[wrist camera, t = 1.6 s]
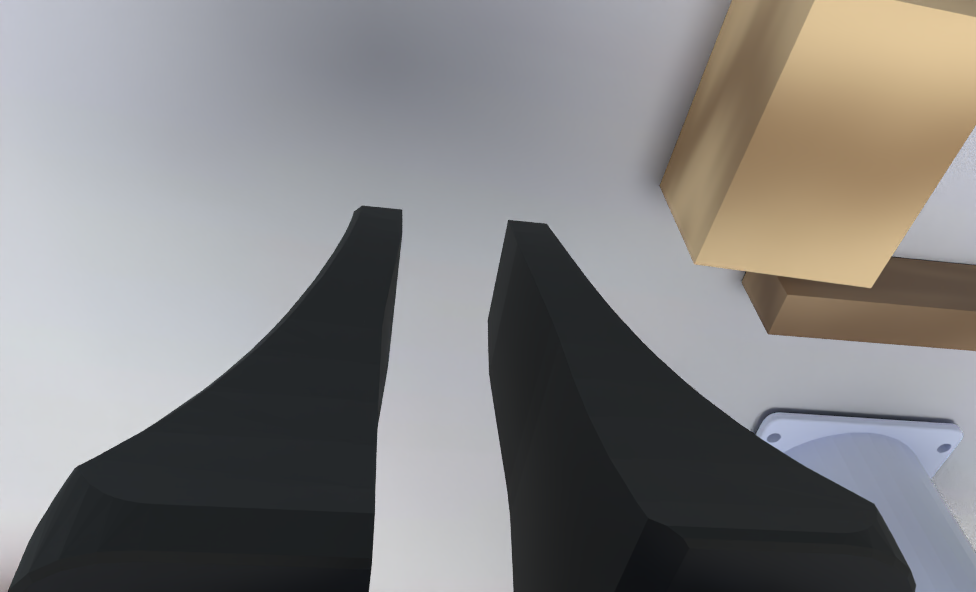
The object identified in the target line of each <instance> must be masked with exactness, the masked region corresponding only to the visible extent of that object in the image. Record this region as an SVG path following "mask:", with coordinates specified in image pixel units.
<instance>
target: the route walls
mask: <svg viewBox="0 0 976 592" xmlns="http://www.w3.org/2000/svg"><path fill="white" fill-rule="evenodd" d="M742 284H743V286H744V288H745V290H746V292H747V294H748V296H749V298H750V300H751V302H752V304H753V306H754V308H755V310H756V312H757V314H758V316H759V318H760V320H761V322H762V324H763V326H764V327H765V329H766V331H767V333H768V334H772V335H784V336H797V337H809V338H822V339H834V340H846V341H859V342H871V343H884V344H896V345H908V346H921V347H933V348H946V349H958V350H970V351H976V265H966V264H956V263H946V262H936V261H925V260H915V259H905V258H895V257H891V258H890V260H889V261H888V263H887V264H886V266H885V267H884V269H883V270H882V272H881V274H880V275H879V277H878V278H877V280H876V281H875V283H874V284H873V286H872V288H866V287H858V286H851V285H844V284H836V283H829V282H822V281H814V280H807V279H799V278H792V277H785V276H777V275H770V274H763V273H755V272H748V271H746V274H745V276H744V278H743V280H742Z"/></svg>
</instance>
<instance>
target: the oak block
mask: <svg viewBox="0 0 976 592" xmlns="http://www.w3.org/2000/svg"><path fill="white" fill-rule="evenodd" d="M975 125H976V0H732V2H731V4H730V7H729V9H728V12H727V14H726V17H725V20H724V22H723V25H722V27H721V30H720V32H719V35H718V37H717V40H716V43H715V45H714V48H713V50H712V53H711V55H710V58H709V60H708V63H707V66H706V68H705V71H704V73H703V76H702V78H701V81H700V83H699V86H698V89H697V91H696V94H695V96H694V99H693V101H692V104H691V107H690V109H689V112H688V114H687V117H686V119H685V122H684V124H683V127H682V130H681V132H680V135H679V137H678V140H677V142H676V145H675V147H674V150H673V153H672V155H671V158H670V160H669V163H668V165H667V168H666V170H665V173H664V176H663V178H662V181H661V183H660V188H661V190H662V192H663V195H664V197H665V199H666V201H667V204H668V206H669V208H670V210H671V213H672V215H673V217H674V219H675V222H676V224H677V226H678V228H679V231H680V233H681V235H682V237H683V240H684V242H685V244H686V246H687V249H688V251H689V253H690V255H691V258H692V260H693V262H694V264H696V265H704V266H711V267H718V268H726V269H733V270H741V271H748V272H755V273H763V274H770V275H777V276H785V277H792V278H799V279H807V280H814V281H822V282H829V283H836V284H844V285H851V286H858V287H866V288H872V286H873V284H874V283H875V281H876V280H877V278H878V277H879V275H880V274H881V272H882V270H883V269H884V267H885V266H886V264H887V263H888V261H889V260H890V258H891V256H892V255H893V253H894V252H895V250H896V249H897V247H898V245H899V244H900V242H901V241H902V239H903V238H904V236H905V235H906V233H907V231H908V230H909V228H910V227H911V225H912V224H913V222H914V221H915V219H916V217H917V216H918V214H919V213H920V211H921V210H922V208H923V207H924V205H925V203H926V202H927V200H928V199H929V197H930V196H931V194H932V192H933V191H934V189H935V188H936V186H937V185H938V183H939V182H940V180H941V178H942V177H943V175H944V174H945V172H946V171H947V169H948V168H949V166H950V164H951V163H952V161H953V160H954V158H955V157H956V155H957V154H958V152H959V150H960V149H961V147H962V146H963V144H964V143H965V141H966V140H967V138H968V136H969V135H970V133H971V132H972V130H973V129H974V127H975Z"/></svg>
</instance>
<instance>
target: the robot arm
mask: <svg viewBox="0 0 976 592" xmlns="http://www.w3.org/2000/svg"><path fill="white" fill-rule="evenodd" d="M401 240H402V210H401V209H391V208H380V207H370V206H361V207H360V208H358V209H357V210H356V211H354V214H353V217H352V220H351V222H350V224H349V226H348V228H347V230H346V232H345V234H344V236H343V238H342V239H341V241H340V243H339V244H338V246H337V248H336V249H335V251H334V253H333V254H332V256H331V257H330V258H329V260H328V261H327V263H326V264H325V266H324V267H323V269H322V270H321V271H320V273H319V274H318V276H317V277H316V279H315V280H314V281H313V283H312V284H311V285H310V286H309V288H308V289H307V290H306V291H305V292H304V294H303V295H302V296H301V297H300V298H299V300H298V301H297V302H296V303H295V305H294V306H293V307H292V308H291V309H290V311H289V312H288V313H287V314H286V315H285V316H284V317H283V318H282V320H281V321H280V322H279V323H278V324H277V325H276V326H275V327H274V328H273V329H272V330H271V331H270V332H269V333H268V334H267V335H266V336H265V337H264V338H263V339H262V340H261V341H260V342H259V343H258V344H257V345H256V346H255V347H254V348H253V349H252V350H251V351H250V352H248V353H247V354H246V355H245V356H244V357H243V358H242V359H240V360H239V361H238V362H237V363H236V364H235V365H233V366H232V367H231V368H230V369H229V370H228V371H226V372H225V373H224V374H223V375H222V376H220V377H219V378H218V379H217V380H215V381H214V382H213V383H212V384H210V385H209V386H208V387H206V388H205V389H204V390H203V391H201V392H200V393H198V394H197V395H195V396H194V397H193V398H191V399H190V400H188V401H187V402H185V403H184V404H182V405H181V406H180V407H178V408H177V409H175V410H174V411H172V412H171V413H169V414H168V415H167V416H165V417H164V418H162V419H161V420H159V421H158V422H156V423H155V424H153V425H152V426H150V427H148V428H147V429H145V430H144V431H142V432H140V433H139V434H137V435H135V436H133V437H131V438H130V439H128V440H126V441H124V442H122V443H120V444H119V445H117V446H115V447H113V448H111V449H109V450H108V451H106V452H104V453H102V454H100V455H99V456H97V457H95V458H93V459H91V460H89V461H87V462H85V463H83V464H81V465H79V466H77V467H76V468H75V469H74V470H73V472H72V473H71V474H70V476H69V477H68V479H67V480H66V482H65V483H64V485H63V486H62V488H61V489H60V491H59V492H58V494H57V495H56V497H55V498H54V500H53V501H52V503H51V505H50V506H49V508H48V510H47V511H46V513H45V515H44V516H43V518H42V519H41V521H40V522H39V524H38V526H37V527H36V529H35V531H34V533H33V535H32V537H31V539H30V541H29V543H28V545H27V547H26V550H25V552H24V554H23V557H22V559H21V562H20V564H19V566H18V569H17V571H16V573H15V576H14V578H13V580H12V583H11V585H10V588H9V590H8V592H369V584H370V575H371V566H372V551H373V534H374V517H375V483H376V452H377V427H378V421H379V416H380V410H381V404H382V398H383V392H384V386H385V381H386V375H387V369H388V361H389V351H390V342H391V333H392V324H393V314H394V305H395V296H396V286H397V277H398V268H399V258H400V249H401ZM488 353H489V376H490V383H491V389H492V396H493V403H494V409H495V416H496V422H497V428H498V435H499V441H500V447H501V454H502V460H503V466H504V472H505V479H506V485H507V492H508V501H509V510H510V523H511V543H512V564H513V588H514V592H976V552H975V550H974V548H973V547H972V545H971V544H970V542H969V540H968V539H967V537H966V535H965V534H964V532H963V531H962V529H961V527H960V526H959V524H958V522H957V521H956V519H955V518H954V516H953V514H952V513H951V511H950V509H949V508H948V506H947V505H946V503H945V501H944V500H943V498H942V496H941V495H940V493H939V492H938V490H937V488H936V487H935V485H934V483H933V482H932V480H931V478H932V477H933V476H934V475H935V473H936V472H937V471H938V469H939V468H940V467H941V466H942V464H943V463H944V462H945V461H946V459H947V458H948V457H949V455H950V454H951V453H952V452H953V450H954V449H955V448H956V447H957V445H958V444H959V443H960V441H961V440H962V438H963V436H964V435H963V432H962V430H961V429H960V427H959V426H958V425H956V424H948V423H933V422H918V421H903V420H887V419H872V418H857V417H841V416H826V415H811V414H796V413H780V412H779V413H773V414H770V415H769V416H767V417H766V418H765V419H764V420H763V422H762V424H761V426H760V427H759V429H758V431H757V433H756V435H755V434H754V433H752V432H751V431H749V430H748V429H746V428H745V427H743V426H742V425H740V424H739V423H738V422H736V421H735V420H734V419H732V418H731V417H730V416H728V415H727V414H726V413H724V412H723V411H722V410H720V409H719V408H718V407H716V406H715V405H714V404H712V403H711V402H710V401H708V400H707V399H706V398H704V397H703V396H702V395H701V394H699V393H698V392H697V391H696V390H695V389H693V388H692V387H691V386H690V385H688V384H687V383H686V382H685V381H684V380H683V379H682V378H681V377H679V376H678V375H677V374H676V373H675V372H674V371H673V370H672V369H670V368H669V367H668V366H667V365H666V364H665V363H664V362H663V361H662V360H660V359H659V358H658V357H657V356H656V355H655V354H654V353H653V352H652V351H651V350H650V349H649V348H648V347H647V346H646V345H645V344H644V343H643V342H642V341H641V340H640V339H639V338H638V337H637V336H636V335H635V333H634V332H633V331H632V330H631V329H630V328H629V327H628V326H627V325H626V324H625V323H624V322H623V321H622V320H621V319H620V317H619V316H618V315H617V314H616V313H615V312H614V310H613V309H612V308H611V307H610V306H609V305H608V304H607V302H606V301H605V300H604V299H603V297H602V296H601V295H600V294H599V293H598V291H597V290H596V289H595V288H594V286H593V285H592V284H591V283H590V281H589V280H588V279H587V277H586V276H585V275H584V274H583V272H582V271H581V270H580V268H579V267H578V266H577V264H576V263H575V262H574V260H573V259H572V258H571V256H570V255H569V253H568V252H567V251H566V249H565V248H564V247H563V245H562V244H561V243H560V241H559V240H558V239H557V237H556V236H555V234H554V233H553V232H552V230H551V229H550V228H549V226H548V225H547V224H544V223H533V222H523V221H513V220H508V224H507V229H506V234H505V239H504V243H503V248H502V253H501V258H500V263H499V268H498V273H497V278H496V283H495V287H494V292H493V297H492V302H491V307H490V312H489V317H488Z"/></svg>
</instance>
